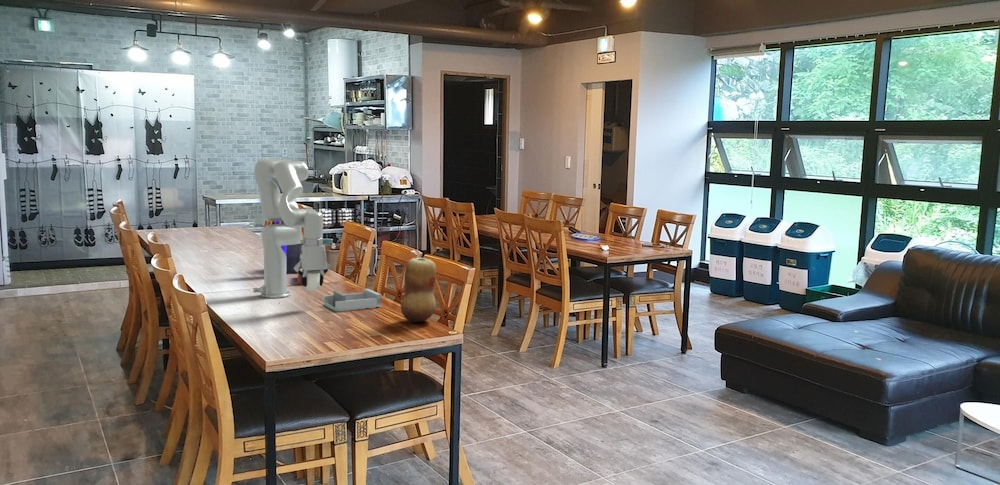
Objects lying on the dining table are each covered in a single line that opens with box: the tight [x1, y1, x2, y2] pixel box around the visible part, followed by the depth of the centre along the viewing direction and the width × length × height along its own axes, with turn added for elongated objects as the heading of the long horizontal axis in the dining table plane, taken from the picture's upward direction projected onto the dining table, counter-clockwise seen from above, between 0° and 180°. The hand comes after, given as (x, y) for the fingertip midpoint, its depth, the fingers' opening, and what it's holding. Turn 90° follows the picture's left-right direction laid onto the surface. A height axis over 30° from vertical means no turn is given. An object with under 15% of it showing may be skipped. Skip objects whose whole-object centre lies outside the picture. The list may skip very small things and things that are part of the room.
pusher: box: [332, 290, 345, 306], centre depth 322 cm, size 13×11×6 cm
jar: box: [304, 270, 321, 292], centre depth 312 cm, size 6×6×8 cm
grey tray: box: [323, 288, 382, 313], centre depth 322 cm, size 20×14×6 cm
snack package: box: [297, 268, 302, 286], centre depth 375 cm, size 21×7×7 cm, turn 11°
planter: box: [286, 238, 304, 274], centre depth 403 cm, size 18×18×16 cm
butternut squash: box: [400, 257, 437, 323], centre depth 297 cm, size 14×13×25 cm
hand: (312, 285), depth 313 cm, fingers closed on jar, 6 cm apart
